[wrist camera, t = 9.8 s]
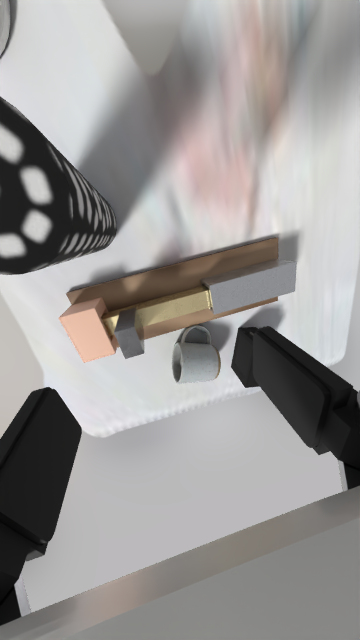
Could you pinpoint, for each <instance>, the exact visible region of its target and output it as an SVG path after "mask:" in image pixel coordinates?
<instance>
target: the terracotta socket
mask: <svg viewBox="0 0 360 640" xmlns="http://www.w3.org/2000/svg"><path fill="white" fill-rule="evenodd" d="M107 312H108V310H107V308H106V305H105V303H104V301H103V298H102V297H100V298H96V299H92V300H89V301H85V302H81V303H77V304H74V305H71V306H70V307H69V308H68V309H67V310H66V311H65V312H64V313H63V314H62V315H61V316H60V317H59V320H60V322H61V323H62V325H63V327H64V329H65V330H66V332H67V334H68V336H69V337H70V339H71V341H72V343H73V344H74V346H75V348H76V350H77V351H78V353H79V355H80V357H81V359H82V360H83V362H84V363H85V362H89V361H92V360H95V359H99V358H102V357H106V356H109V355H112V354H115V353H116V349H117V344H118V341H117V339H116V336H115V335H112V336H109V334H108V332H107V330H106V328H105V326H104V323H103V321H102V319H101V316H102V314H103V313H107Z"/></svg>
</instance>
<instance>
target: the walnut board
mask: <svg viewBox="0 0 360 640" xmlns="http://www.w3.org/2000/svg"><path fill="white" fill-rule="evenodd" d="M273 259H278V238H271V239H268V240H264V241H260V242H256V243H252V244H249V245H245V246H241V247H237V248H233V249H230V250H226V251H222V252H218V253H214V254H211V255H207V256H203V257H199V258H195V259H192V260H188V261H184V262H180V263H176V264H173V265H169V266H165V267H161V268H157V269H154V270H150V271H146V272H142V273H138V274H135V275H131V276H127V277H123V278H119V279H116V280H112V281H108V282H104V283H101V284H97V285H93V286H89V287H85V288H82V289H78V290H74V291H70V292H68V293H66V295H67V297H68V298H69V300H70V302H71V304H72V305H74V304H77V303H81V302H85V301H89V300H92V299H96V298H100V297H102V298H103V301H104V303H105V305H106V308H107V310H108V312H110V311H114V310H118V309H121V308H125V307H128V306H132V305H136V304H139V303H143V302H146V301H150V300H154V299H157V298H161V297H165V296H168V295H172V294H175V293H179V292H183V291H186V290H190V289H194V288H197V287H201V280H200V279H203V278H207V277H210V276H214V275H218V274H221V273H225V272H229V271H232V270H236V269H240V268H243V267H247V266H251V265H254V264H258V263H262V262H265V261H269V260H273ZM275 301H278V296H277V297H274V298H270V299H267V300H263V301H260V302H256V303H253V304H250V305H246V306H243V307H239V308H236V309H232V310H229V311H225V312H222V313H218V314H215V315H214V314H213V313H212V312H211V311H210V310H209V309H208V308H207V309H203V310H200V311H196V312H193V313H189V314H186V315H182V316H179V317H175V318H172V319H168V320H165V321H161V322H158V323H154V324H151V325H147V326H144V327H143V329H144V340H145V339H148V338H152V337H155V336H158V335H162V334H165V333H169V332H172V331H176V330H179V329H182V328H186V327H189V326H193V325H196V324H200V323H203V322H206V321H210V320H213V319H217V318H220V317H224V316H227V315H230V314H234V313H237V312H241V311H244V310H248V309H251V308H254V307H258V306H261V305H265V304H268V303H272V302H275ZM117 347H120V346H119V343H118V344H117Z"/></svg>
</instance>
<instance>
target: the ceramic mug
mask: <svg viewBox="0 0 360 640" xmlns="http://www.w3.org/2000/svg"><path fill="white" fill-rule="evenodd" d="M193 328H194V329H199V330H201V331H205V333H206V335H207V344H200V343H199V344H198V343H188V342H185V339H186V336H187V334H188V332H189V331H190V330H192V329H193ZM220 367H221V361H220V355H219V352H218V350H217V349H216V348H215V347H214V346H212V345H211V335H210V332H209V331H208V330H207V329H206V328H205V327H203V326H199V325H193V326H190V327H188V328H187V329H186V330H185V331H184V333H183V336H182V339H181V342H177V343H176V344H175V346H174V349H173V355H172V369H173V375H174V378H175V381H176V383H178V384H182V383H192V382H203V381H210V380H214V379H216V378H217V376H218V375H219V372H220Z"/></svg>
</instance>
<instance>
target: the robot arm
mask: <svg viewBox="0 0 360 640" xmlns="http://www.w3.org/2000/svg"><path fill="white" fill-rule="evenodd" d="M9 29H10V3H9V0H0V55H1V53H2V52H3V50H4V49H5V46H6V43H7V40H8V37H9ZM253 376H254V379H255V381H256V382H257V383H258V385H259V386H260V387H261V388H262V390H263V391H264V392H265V393H266V395H267V396H268V397H269V399H270V400H271V401H272V402H273V404H274V405H275V406H276V407H277V409H278V410H279V411H280V413H281V414H282V415H283V416H284V418H285V419H286V420H287V421H288V423H289V424H290V425H291V426H292V428H293V429H294V430H295V431H296V433H297V434H298V435H299V436H300V437H301V439H302V440H303V442H304V443H305V444H306V445H307V446H308V447H310V448H313V449H314V450H315V451H316V452H317V453H318V455H320V454H323V453H326V452H329V451H331V452H332V453H333V455H334V456H335V457H336V458H337V459H338V463H339V470H340V476H341V483H342V489H343V492H341V493H338V494H335V495H333V496H330V497H327V498H324V499H322V500H319V501H317V502H314V503H311V504H308V505H306V506H303V507H301V508H298V509H295V510H293V511H290V512H288V513H285V514H282V515H280V516H277V517H275V518H272V519H269V520H267V521H264V522H262V523H259V524H256V525H254V526H251V527H249V528H246V529H244V530H241V531H239V532H236V533H233V534H231V535H228V536H225V537H223V538H220V539H218V540H215V541H213V542H210V543H208V544H205V545H203V546H200V547H197V548H195V549H192V550H190V551H187V552H185V553H182V554H179V555H177V556H174V557H172V558H169V559H167V560H164V561H162V562H159V563H156V564H154V565H151V566H149V567H146V568H144V569H141V570H139V571H136V572H133V573H131V574H128V575H126V576H123V577H121V578H118V579H116V580H113V581H111V582H108V583H106V584H103V585H101V586H98V587H96V588H93V589H91V590H88V591H86V592H83V593H81V594H78V595H76V596H73V597H71V598H68V599H66V600H63V601H60V602H58V603H55V604H53V605H50V606H48V607H45V608H43V609H41V610H38V611H35V612H33V613H31V609H30V606H29V602H28V598H27V594H26V590H25V586H24V582H23V578H22V575H21V571H22V568H23V565H24V563H25V561H29V560H32V559H35V558H38V557H40V556H43V555H45V551H46V548H47V544H48V542H49V541H50V540H51V539H52V537H53V535H54V532H55V528H56V525H57V521H58V518H59V514H60V510H61V507H62V503H63V500H64V496H65V492H66V488H67V485H68V482H69V478H70V474H71V470H72V467H73V463H74V460H75V456H76V452H77V449H78V445H79V442H80V438H81V434H82V429H81V426H80V425H79V423H78V422H77V420H76V419H75V417H74V416H73V414H72V413H71V411H70V410H69V409H68V407H67V406H66V404H65V403H64V401H63V400H62V398H61V397H60V395H59V394H58V393H57V391H56V390H55V389H51V388H50V387H46V388H43V389H39V390H36V391H33V392H31V394H30V395H29V396H28V398H27V399H26V401H25V403H24V404H23V406H22V407H21V409H20V410H19V412H18V413H17V415H16V416H15V418H14V419H13V421H12V422H11V424H10V425H9V427H8V428H7V430H6V431H5V433H4V434H3V436H2V437H1V439H0V640H360V391H359V392H357V391H356V390H354V389H353V386H352V385H351V384H349V383H348V382H346V381H345V380H344V379H342V378H341V377H340V376H338V375H337V374H335V373H334V372H332V371H331V370H330V369H328V368H327V367H326V366H324V365H323V364H321V363H320V362H319V361H317V360H316V359H314V358H313V357H312V356H310V355H309V354H307V353H306V352H305V351H303V350H302V349H301V348H299V347H298V346H296V345H295V344H294V343H292V342H291V341H289V340H288V339H287V338H285V337H284V336H282V335H281V334H280V333H278V332H277V331H275V330H274V329H273V328H271V327H269V326H267V327H263V328H259V329H257V330H256V332H255V333H254V334H253Z"/></svg>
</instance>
